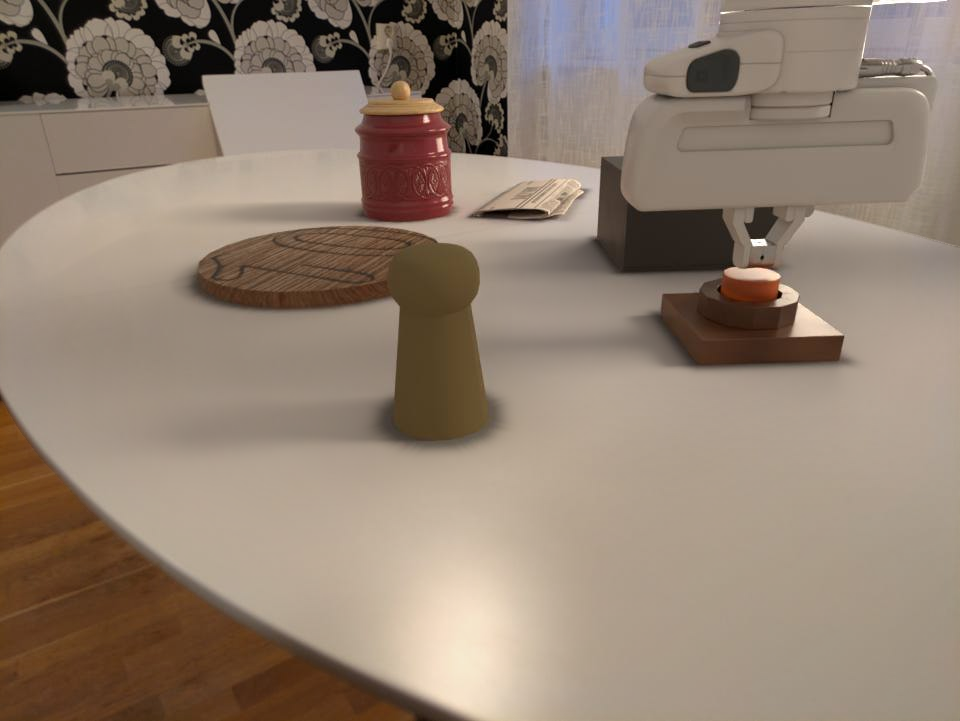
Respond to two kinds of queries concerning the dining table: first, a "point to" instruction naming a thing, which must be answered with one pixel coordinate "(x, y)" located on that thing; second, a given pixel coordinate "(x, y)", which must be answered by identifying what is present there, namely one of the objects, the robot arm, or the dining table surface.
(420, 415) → the olive game pawn
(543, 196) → the newspaper
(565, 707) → the dining table surface
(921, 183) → the robot arm
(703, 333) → the control block
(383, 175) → the kitchen canister
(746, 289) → the button
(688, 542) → the dining table surface
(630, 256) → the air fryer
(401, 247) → the trivet
